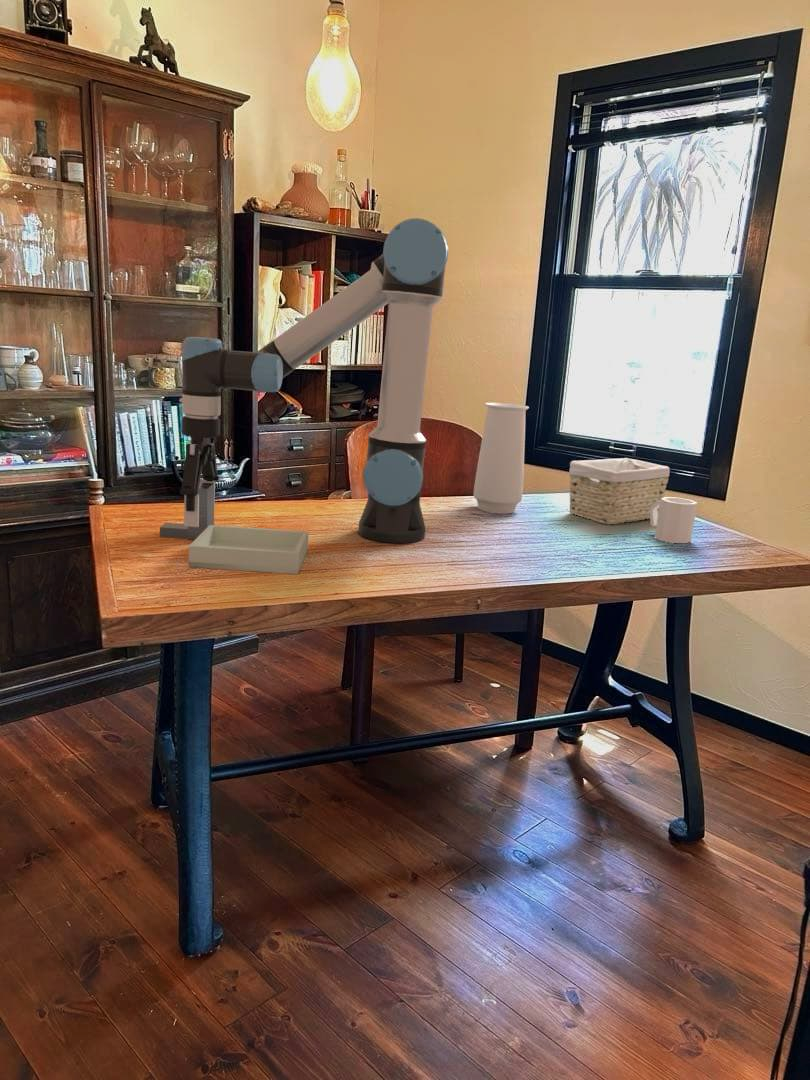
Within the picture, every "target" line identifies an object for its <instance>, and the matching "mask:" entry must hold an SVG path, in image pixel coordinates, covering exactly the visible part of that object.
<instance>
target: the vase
mask: <svg viewBox="0 0 810 1080" xmlns="http://www.w3.org/2000/svg"><path fill="white" fill-rule="evenodd" d="M484 404H485V406H486V407H487V411H486V415H485V421H484V426H483V430H482V431H483V432H482V438H481V443H480V448H479V449H480V450H479V455H478V461H477V466H476V473H475V479H474V480H475V481H474V486H473V498H474V499H476V502H477V508H478V510H480V511H482V512H485V513H488V514H490V513H491V514H499V515H505V514H506V515H507V514H513V513H514V512H515V511H516V507H517V505H518V504H519V503H521V501H522V500H523V491H524V490H523V489H524V471H525V470H524V469H525V450H526V449H525V448H526V447H525V444H526V442H525V441H526V413H527V412H526V411H527V410H528V409H529V408H530V407H529V406H528V405H524V404H515V403H509V402H508V403H506V402H485V403H484Z"/></svg>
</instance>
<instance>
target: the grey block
mask: <svg viewBox="0 0 810 1080" xmlns="http://www.w3.org/2000/svg"><path fill="white" fill-rule="evenodd" d="M197 495H199V526H198V527H189V526H184V523H176V522H164V523H163V524H162V525H161V526H160V527H159V537H161V538H174V539H177V538H178V539H187V540H188V541H194V540H195V539H196V538H197V537H198V536H199V535H200V534H201V533H202V532H203V531H204V530H205V529H206V528H207V527H208V526H209V525H215V508H214V483H203V482H202V481H200V483H199V488H198V494H197Z"/></svg>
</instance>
